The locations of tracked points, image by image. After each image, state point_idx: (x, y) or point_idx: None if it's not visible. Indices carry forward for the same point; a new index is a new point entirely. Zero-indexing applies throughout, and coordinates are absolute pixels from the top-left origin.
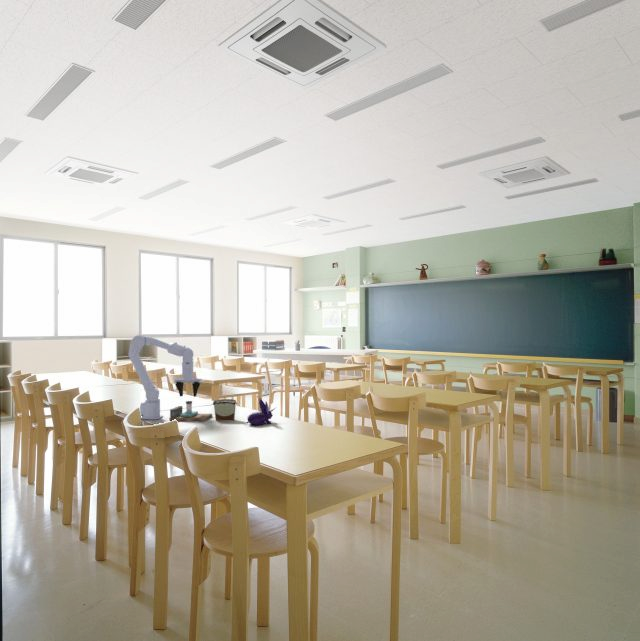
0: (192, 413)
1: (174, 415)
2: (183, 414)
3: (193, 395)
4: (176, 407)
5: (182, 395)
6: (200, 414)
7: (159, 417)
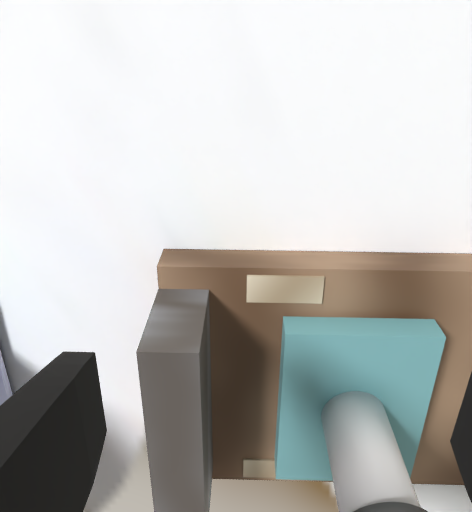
0: (406, 444)
1: (211, 471)
2: (312, 478)
3: (461, 473)
4: (165, 444)
5: (94, 376)
6: (469, 324)
7: (2, 377)
